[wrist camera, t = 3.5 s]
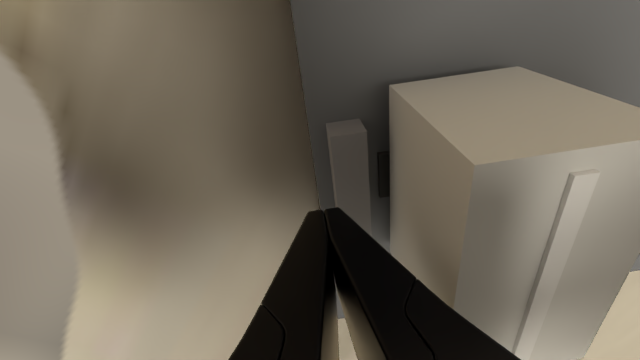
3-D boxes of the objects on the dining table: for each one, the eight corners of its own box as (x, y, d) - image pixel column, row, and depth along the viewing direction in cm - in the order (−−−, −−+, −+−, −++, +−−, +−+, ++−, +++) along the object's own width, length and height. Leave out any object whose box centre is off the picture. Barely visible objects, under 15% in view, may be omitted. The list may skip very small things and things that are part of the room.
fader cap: (485, 236, 12) (586, 362, 8) (390, 251, 12) (444, 386, 8) (518, 66, 9) (713, 132, 5) (388, 84, 9) (478, 168, 5)
